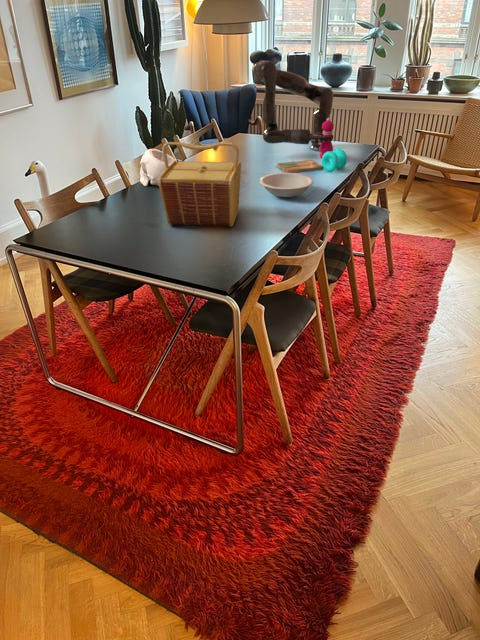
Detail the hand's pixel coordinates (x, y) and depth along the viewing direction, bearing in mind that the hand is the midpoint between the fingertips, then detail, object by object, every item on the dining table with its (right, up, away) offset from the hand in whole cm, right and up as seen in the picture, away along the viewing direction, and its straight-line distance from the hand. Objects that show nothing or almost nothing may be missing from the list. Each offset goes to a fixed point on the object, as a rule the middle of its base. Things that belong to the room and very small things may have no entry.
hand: (332, 138), depth 252 cm
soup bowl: (-28, -39, -36) cm, 60 cm away
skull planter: (-88, -30, -19) cm, 95 cm away
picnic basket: (-63, -55, -59) cm, 102 cm away
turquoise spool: (0, -18, -5) cm, 19 cm away
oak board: (-17, -16, -1) cm, 23 cm away
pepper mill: (-2, -8, +6) cm, 11 cm away
